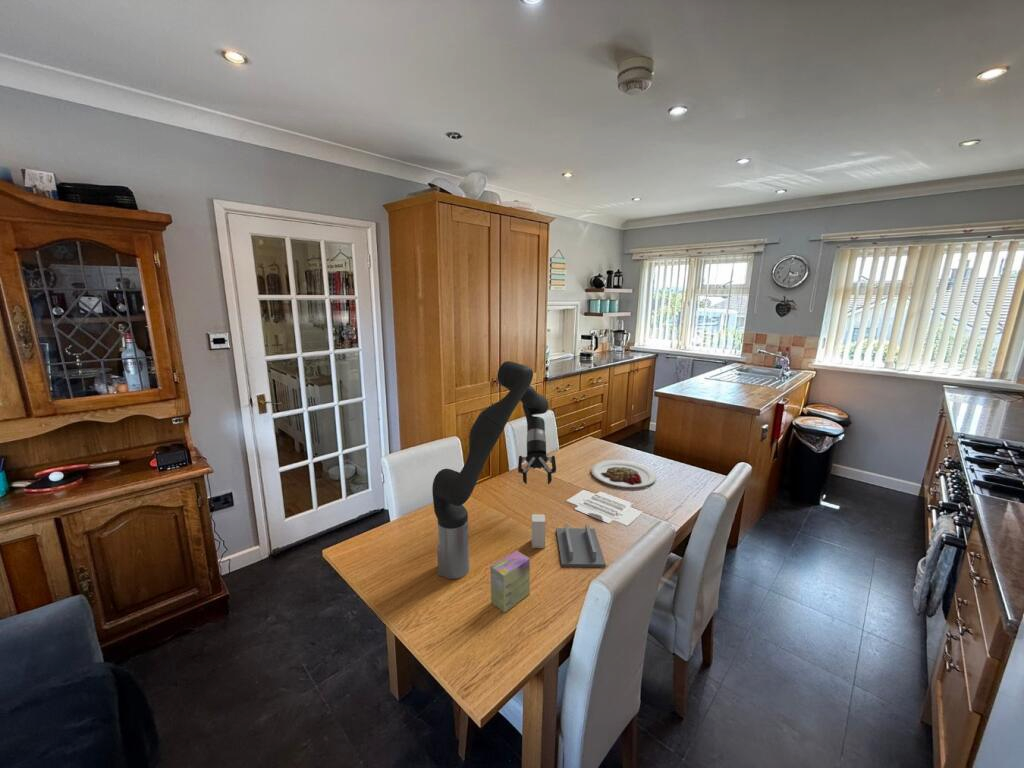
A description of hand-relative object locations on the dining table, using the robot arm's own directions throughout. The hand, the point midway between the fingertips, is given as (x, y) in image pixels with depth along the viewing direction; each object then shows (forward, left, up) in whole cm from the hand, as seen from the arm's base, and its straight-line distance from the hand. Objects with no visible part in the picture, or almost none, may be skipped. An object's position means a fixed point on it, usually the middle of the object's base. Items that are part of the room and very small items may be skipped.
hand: (537, 483), depth 149 cm
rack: (+14, -14, -17) cm, 26 cm away
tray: (+28, +14, -18) cm, 36 cm away
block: (0, -12, -17) cm, 21 cm away
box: (-9, -38, -17) cm, 43 cm away
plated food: (+43, +43, -17) cm, 63 cm away
